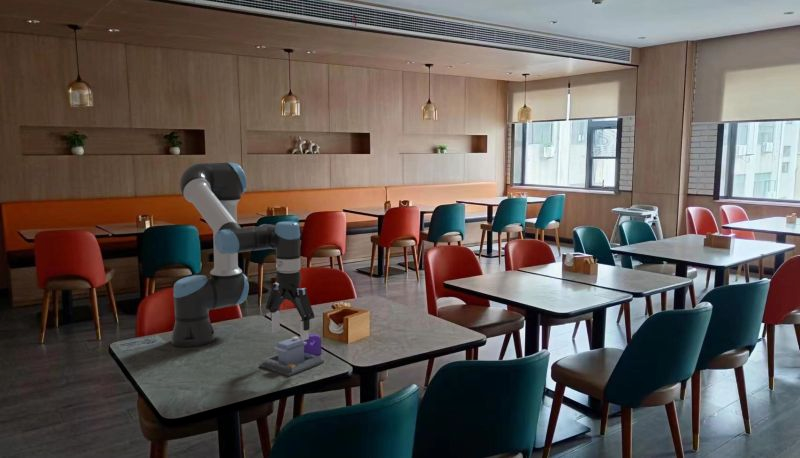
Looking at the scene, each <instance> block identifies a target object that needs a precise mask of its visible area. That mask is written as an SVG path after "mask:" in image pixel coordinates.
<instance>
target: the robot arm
mask: <svg viewBox="0 0 800 458" xmlns="http://www.w3.org/2000/svg"><path fill="white" fill-rule="evenodd" d="M247 189H248V181H247V176H246V172H245V170H243V168H242V166H241V165H240V164H238V163H236V162H206V163H205V162H203V163H202V162H198V163H194V164H192V165H190V166H188V167H187V168H186V169H185V170H184V171H183V172H182V174H181V176H180V179H179V190H180V194H181V195H182V197H183V198H184V199H185V201H187V202H189V203H191V204H192V205H193V206H194V207H195V209H196V210H197V212H198V213H199V214H200V215H201V216H202V218H203V220H205V222H206V224H208V226H209V228H211V229H212V232H213V233H212V234H213V237H212V238H213V268H212V269H211V270H210V273H209V275H210V276H209V278H208V277H207V276H206V275H202V274H198V275H190V276H186V277H182V278H181V279H178V280H177V281H176V282H174V285H173V293H172V296H173V304H174V305H173V306H174V320H175V322H174V327H173V330H172V334H171V338H170V339H171V341H170V342H171V344H172V345H173V346H175V347H178V348H179V347H180V348H181V347H183V348H190V347H198V346H203V345H207V344H210V343H212V342H213V341H215V340H216V335H215V334H216V333H215V330H214V327H213V325H212V323H211V320H210V313H209V311H211V310H217V309H222V308H227V307H234V306H236V305H237V306H238V305H241V304H242V303H244V302H245V301H246V299H247V297H248V295H249V289H250V287H249V286H250V285H249V282H248V279H249V278H248V277H247V276H246V274H244V273H243V270H242V269H241V268H240V267H239V260H238V259H239V258H238V257H239V253H245V252H251V251H253V252H254V251H261V250H263V251H264V250H269V249H270V250H275V261H276V262H275V263H276V264H275V265H276V270H277V272H276V282H273V283H271V290H270V294H269V296H268V298H267V301H266V305H265V309H266V310H269V312H270V321H271V332H272V334H273V333H276V332H279V331H281V325H280V324H281V321H280V310H279V309H280V307H281V305H282V304H283V303H284V301H285V300H288V301H290V302H291V303H292V304H293V305H294V306H295V309H296V310H297V312H298V314H299V317H300V318H301V319H300V327H299V328H300V336H301V341H304V340H307V339H309V335H310V334H309V332H310V331H309V330H310V324H311V323H310V320H311V319H312V320H313V319H314V318H315V317H316V315H315V314H314V310H313V307H312V305H311V302H310V299H309V296H308V291H307V288H306V287H303V288H300V286H299V285H300V283H301V281H302V277H301V276H302V275H301V271H300V270H301V269H302V268H301V266H302V265H301V231H300V229H301V228H300V224H299V223H298V222H296V221H288V220H287V221H279V222H277V223H276V224H270V223H268V224H267V223H264V224H260V225H259V226H250V227H249V226H248V227H241V226H240V224H239V223H238V212H237V211H238V208H237V207H238V203H239V202H240V201H241V199H242V198H241V197H242V196H241V195H243V194H245V192H246V191H247Z"/></svg>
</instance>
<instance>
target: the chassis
mask: <svg viewBox="0 0 800 458" xmlns="http://www.w3.org/2000/svg"><path fill="white" fill-rule="evenodd" d="M261 360H262V361H261V363H259V364H258V366H259V367H260V368H263V369H265V370H269V371H272V372H274V373H277V374H280V375H281V374H282V375H283V376H284V375H285V376H286V377H291V376H293V375H296V374H297V373H298V374H299V373H301V372H304V371H306V370H308V369H310V368H313V367H316V366H318V365H321V364H323V363H324V362H325V360H324V359H322V357H321V356H319V355H312V354H308V353H305V352H304V361H302V362H300V363H297V364H290V365H288V364H285V363H282V362H278V353H275V354H272V355H270V356H267V357H264V358H262V359H261Z"/></svg>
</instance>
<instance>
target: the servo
mask: <svg viewBox="0 0 800 458" xmlns="http://www.w3.org/2000/svg"><path fill="white" fill-rule="evenodd" d="M306 344H307V342H304V341H301V339H300V338H299V337H298V336H292V337H291V338H288V339H285V340H282V341H279V342H277V346H275V347H273V350H274V351H277V354H278V362H282V363H285V364H288V365H290V364H297V363H300V362H302V361H304V345H306Z"/></svg>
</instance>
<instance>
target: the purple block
mask: <svg viewBox="0 0 800 458" xmlns="http://www.w3.org/2000/svg"><path fill="white" fill-rule="evenodd" d="M299 339H301V335H299ZM304 342H307V344H306V345H304V352H305V353H308V354H312V355H316V356H319V355H322V339H321V336H320V335H319V334H317V333H316V334H315V333H314V334H309V339H307V340H304Z"/></svg>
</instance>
